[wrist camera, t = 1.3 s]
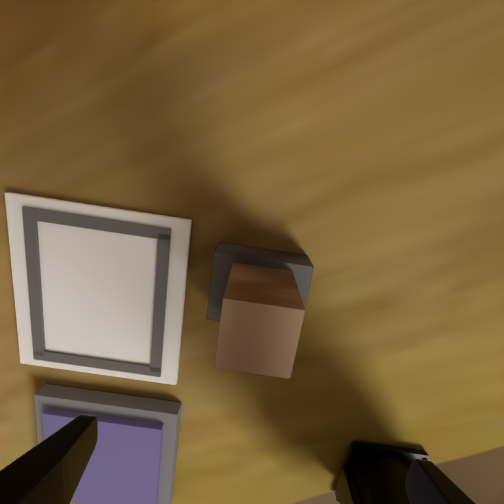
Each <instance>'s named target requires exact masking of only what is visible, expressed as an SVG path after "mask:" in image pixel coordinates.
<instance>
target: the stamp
mask: <svg viewBox="0 0 504 504" xmlns="http://www.w3.org/2000/svg"><path fill="white" fill-rule="evenodd" d="M313 268H314V267H313V265H312V263H311V261H310V259H309V258H308V256H307V255H303V254H296V253H289V252H283V251H276V250H269V249H263V248H256V247H249V246H243V245H236V244H229V243H223V242H220V243H219V245H218V246H217V248H216V250H215V252H214V260H213V268H212V277H211V285H210V294H209V302H208V311H207V319H209V320H216V321H220V327H219V335H218V342H217V350H216V357H215V365H214V368H217V369H224V370H231V371H238V372H245V373H252V374H259V375H266V376H273V377H281V378H288V379H290V377H291V373H292V368H293V364H294V359H295V355H296V350H297V346H298V341H299V337H300V332H301V328H302V323H303V319H304V314H305V304H306V300H307V295H308V291H309V286H310V282H311V277H312V273H313Z"/></svg>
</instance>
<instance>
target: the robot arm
mask: <svg viewBox="0 0 504 504" xmlns="http://www.w3.org/2000/svg"><path fill="white" fill-rule="evenodd" d="M97 439H98V420H97V416H95V415H89V414H81V415H79V416H77V417H76V418H75V419H73V420H72V421H70V422H69V423H68V424H66V425H65V426H63V427H62V428H60V429H59V430H58V431H56V432H55V433H53V434H52V435H50V436H49V437H48V438H46V439H45V440H43V441H42V442H41V443H39V444H38V445H36V446H35V447H33V448H32V449H31V450H29V451H28V452H26V453H25V454H24V455H22V456H21V457H19V458H18V459H16V460H15V461H14V462H12V463H11V464H9V465H8V466H6V467H5V468H4V469H2V470H1V471H0V504H70V502H71V500H72V498H73V495H74V493H75V491H76V489H77V487H78V484H79V482H80V480H81V478H82V475H83V473H84V471H85V469H86V467H87V464H88V462H89V460H90V458H91V456H92V453H93V451H94V449H95V447H96V444H97ZM335 495H336V500H337V501H338V502H340V504H475V503H474V502H473V501H472V500H471V499H470V498H469V497H468V496H467V495H466V494H465V493H464V492H463V491H462V490H461V489H460V488H459V487H457V486H456V485H455V484H454V483H453V482H452V481H451V480H450V479H449V478H448V477H447V476H446V475H445V474H444V473H443V472H442V471H441V470H440V469H439V468H438V467H437V466H435V465H434V464H433V463H432V462H431V461H430V457H429V455H428V453H427V452H426V451H422V450H415V449H408V448H400V447H393V446H386V445H379V444H372V443H364V442H353V443H352V444H351V445H350V449H349V452H348V455H347V458H346V461H345V464H344V465H343V466H342V469H341V472H340V475H339V478H338V482H337V485H336V492H335Z"/></svg>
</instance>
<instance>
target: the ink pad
mask: <svg viewBox="0 0 504 504" xmlns="http://www.w3.org/2000/svg"><path fill="white" fill-rule="evenodd" d="M34 402H35V414H36V427H37V439H38V444H39V443H41V442H42V441H43V440H45V439H46V438H48V437H49V436H50V435H52V434H53V433H55V432H56V431H58V430H59V429H60V428H62V427H63V426H65V425H66V424H68V423H69V422H70V421H72V420H73V419H75V418H76V417H77V416H79V415H81V414H89V415H95V416H97V420H98V439H97V444H96V447H95V449H94V451H93V453H92V456H91V458H90V460H89V462H88V464H87V467H86V469H85V471H84V473H83V475H82V478H81V480H80V482H79V484H78V487H77V489H76V491H75V493H74V495H73V498H72V500H71V502H78V503H85V504H171V502H172V496H173V486H174V476H175V465H176V455H177V445H178V435H179V425H180V414H181V404H182V403H181V402H173V401H166V400H159V399H152V398H145V397H138V396H131V395H123V394H116V393H109V392H102V391H95V390H88V389H80V388H73V387H66V386H59V385H52V384H44V385H43V386H42V387H41V388H40V389H39V390H38V391H37V392H36V393H35V394H34Z"/></svg>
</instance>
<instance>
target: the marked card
mask: <svg viewBox="0 0 504 504" xmlns="http://www.w3.org/2000/svg"><path fill="white" fill-rule="evenodd" d="M5 202H6V212H7V223H8V234H9V245H10V255H11V266H12V277H13V288H14V298H15V309H16V320H17V331H18V341H19V352H20V363H23V364H30V365H37V366H44V367H51V368H58V369H65V370H72V371H79V372H87V373H94V374H101V375H108V376H115V377H122V378H129V379H136V380H143V381H151V382H158V383H165V384H172V385H176V384H177V380H178V369H179V357H180V346H181V335H182V324H183V313H184V302H185V291H186V280H187V269H188V258H189V247H190V236H191V225H192V220H191V219H184V218H178V217H171V216H164V215H158V214H151V213H145V212H138V211H131V210H125V209H118V208H112V207H105V206H98V205H92V204H85V203H78V202H72V201H65V200H59V199H52V198H45V197H39V196H32V195H25V194H19V193H12V192H6V193H5Z"/></svg>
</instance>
